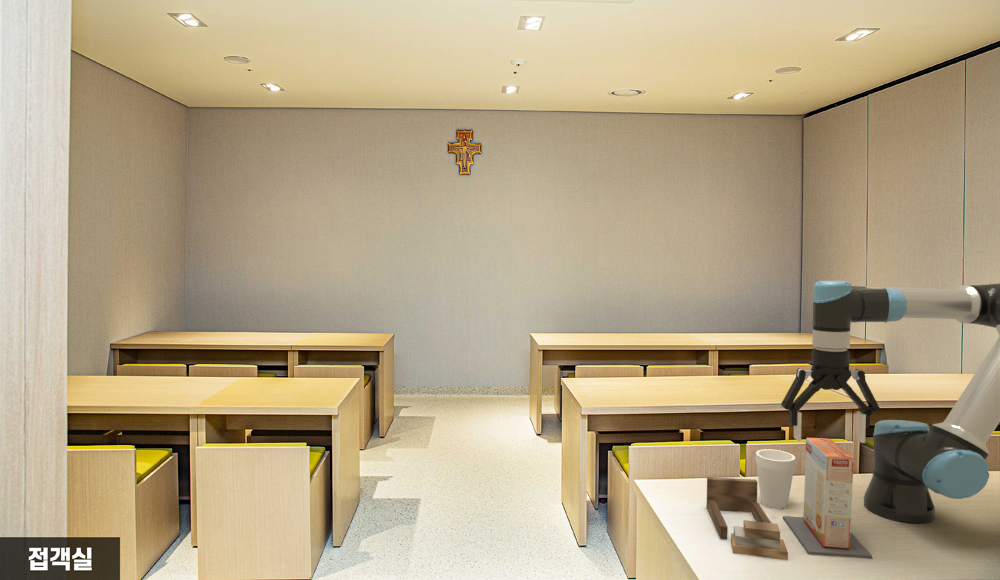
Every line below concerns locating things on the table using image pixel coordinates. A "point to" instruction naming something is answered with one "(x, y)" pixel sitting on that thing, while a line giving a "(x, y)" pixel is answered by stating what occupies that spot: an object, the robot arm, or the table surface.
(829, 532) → the cracker box
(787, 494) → the foam cup
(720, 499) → the rack
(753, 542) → the offcut stack
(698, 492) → the table surface
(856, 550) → the mat
